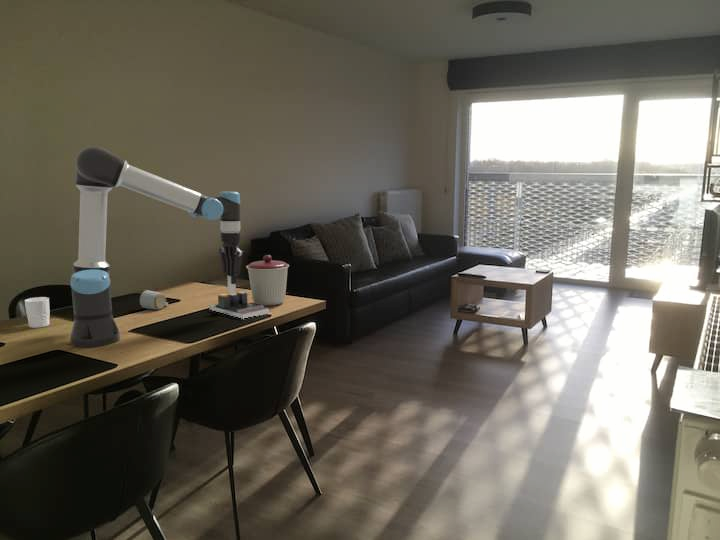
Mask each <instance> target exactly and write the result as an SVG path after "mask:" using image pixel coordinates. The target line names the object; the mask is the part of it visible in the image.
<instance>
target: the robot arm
mask: <svg viewBox="0 0 720 540" xmlns="http://www.w3.org/2000/svg"><path fill="white" fill-rule="evenodd" d="M75 186H76V188H78V190H79V191H80V192H79V193H80V194H79V219H78V221H79V225H78V230H79V231H78V253H77V255H78V256H77V257H78V259H77V260H76V261H75V262H74V263H73V265H72V275H71V277H70V282H69V283H70V284H69V285H70V288H71V296H72V297H71V298H72V307H73V319H74V320H73V321H74V322H73V324H72V328H71V329H72V330H71V334H70V336H69V339H70V340H69V341H70V345H72V346H73V347H78V348H93V347H101V346H107V345H110V344H114V343H116V342H117V341H119V340H120V339H121V334H120V330H119V327H118V325H117V323H116V321H115V318H114V317H113V308H112V307H113V306H112V305H113V304H112V292H111V278H110V264H109V263H108V262H107V260H106V252H107V251H106V245H107V225H108V224H107V223H108V221H107V220H108V219H107V217H108V194H109V193H110V191H112V190H113V187H114V188H117V187H123V188H126V189H128V190H131V191H133V192H136V193H139V194H142V195H143V196H146V197H149V198H151V199H154V200H157V201H160V202H162V203H165V204H167V205H170V206H173V207H176V208H179V209H180V210H183V211H187V215H189V217H190V218H191V217H192V218H205V219H207V220H209V221H214V220H218V219H220V231H221V232H220V241H221V243H222V247H221V248H219V249H218V251H219V254H220V259H221V266H222V272H223V273H224V274H225V275H226V281H227V293H237V292H236V291H237V289H236V288H237V287H236V285H237V275H240V274H241V268H242V267H241V266H242V259H243V256H244V250H241V249H240V245H239V243H240V242H241V241H242V240H241V239H242V237H241V235H242V232H240V231H241V196H240V193H239V192H238V191H220V192H219V196H208V195H206V194H204V193H201V192H199V191H196V190H193V189H191V188H189V187H187V186H186V187H185V186H184V185H180V184H178V183H176V182H174V181H171V180H168V179H166V178H163V177H161V176H159V175H155V174H153V173H151V172H148V171H146V170H143V169H140V168H138V167H136V166H133V165H130V164H129V163H128V161H127V160H126V159H123V158H121V157H119V156H117V155H115V154H113V153H112V152H110V151H108V150H107V149H105V148H103V147H100V146H95V145H94V146H93V145H91V146H88V147H87V146H86V147H85V148H83V149H82V150H80V152H78V154H77V156H76V159H75Z"/></svg>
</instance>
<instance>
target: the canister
mask: <svg viewBox="0 0 720 540" xmlns="http://www.w3.org/2000/svg"><path fill="white" fill-rule="evenodd" d="M245 267H246V269H247V273H248V278H249V284H250V291H251V297H252V301H253V303H255V305H257V306H258V305H263V307H267V306H276V305H280V304H282V303H283V302H284V301H285V299H286V298H285V297H286V293H287V292H286V291H287V281H288V279H287V278H288V269H289V267H290V264H289V263H286V262H285V261H282V260H273V259H272V255H270V254H265V255H264V256H263V260H258V261H253V262H251V263H249V264H248V265H246V266H245Z"/></svg>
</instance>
